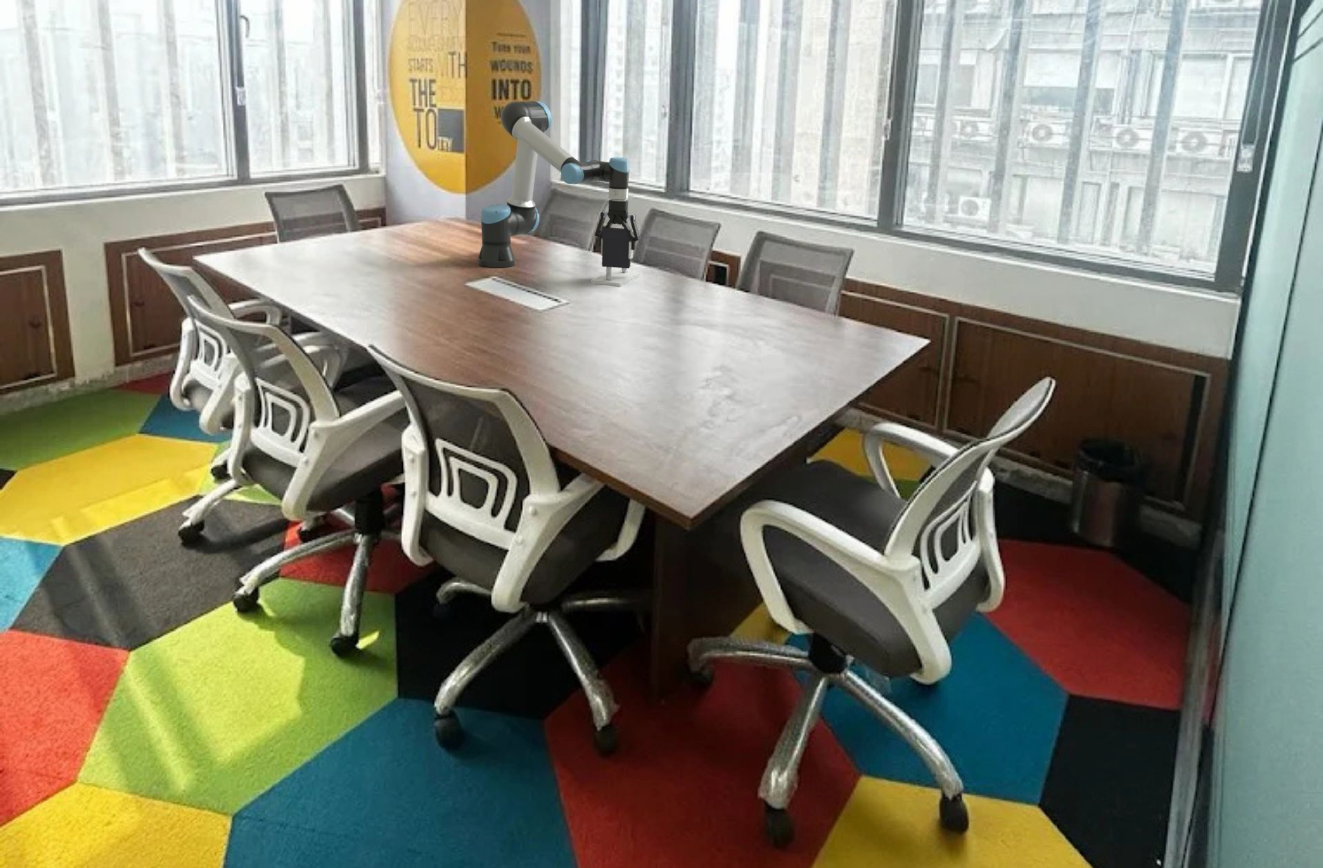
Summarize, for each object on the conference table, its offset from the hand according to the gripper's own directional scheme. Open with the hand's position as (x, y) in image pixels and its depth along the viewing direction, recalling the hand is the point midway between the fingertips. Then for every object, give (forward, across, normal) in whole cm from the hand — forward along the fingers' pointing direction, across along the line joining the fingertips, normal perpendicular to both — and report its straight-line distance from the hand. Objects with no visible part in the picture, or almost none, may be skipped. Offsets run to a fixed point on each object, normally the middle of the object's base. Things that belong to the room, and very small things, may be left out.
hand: (616, 256), depth 376 cm
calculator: (+4, 0, 0) cm, 4 cm away
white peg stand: (+9, 0, 0) cm, 9 cm away
